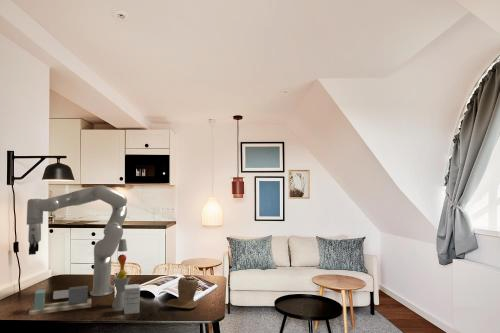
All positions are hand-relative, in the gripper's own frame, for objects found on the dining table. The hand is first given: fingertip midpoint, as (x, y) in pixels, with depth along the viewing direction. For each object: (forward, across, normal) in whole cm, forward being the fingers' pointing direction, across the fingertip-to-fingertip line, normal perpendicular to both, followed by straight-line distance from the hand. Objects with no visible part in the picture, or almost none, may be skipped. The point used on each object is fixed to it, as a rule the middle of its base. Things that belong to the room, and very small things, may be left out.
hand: (33, 252), depth 185 cm
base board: (+27, -14, -15) cm, 34 cm away
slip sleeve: (+26, -14, -23) cm, 37 cm away
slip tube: (+22, -14, -19) cm, 32 cm away
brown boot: (+28, -38, -74) cm, 88 cm away
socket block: (+26, -14, -5) cm, 30 cm away
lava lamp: (+28, -22, -43) cm, 56 cm away
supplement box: (+28, -34, -48) cm, 65 cm away
